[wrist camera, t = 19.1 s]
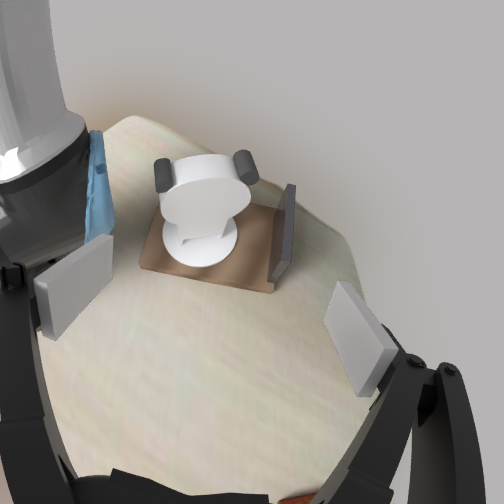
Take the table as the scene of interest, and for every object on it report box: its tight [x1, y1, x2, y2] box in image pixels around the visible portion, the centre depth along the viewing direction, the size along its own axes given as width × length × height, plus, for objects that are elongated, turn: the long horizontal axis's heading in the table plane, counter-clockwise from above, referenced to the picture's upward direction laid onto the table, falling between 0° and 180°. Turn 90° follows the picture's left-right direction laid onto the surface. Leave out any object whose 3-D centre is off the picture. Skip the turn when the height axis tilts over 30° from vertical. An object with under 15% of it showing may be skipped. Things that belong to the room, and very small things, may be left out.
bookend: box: [267, 184, 296, 283], centre depth 40 cm, size 1×12×8 cm, turn 172°
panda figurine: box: [154, 150, 259, 267], centre depth 36 cm, size 12×11×15 cm
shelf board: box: [139, 201, 276, 294], centre depth 44 cm, size 20×14×2 cm
